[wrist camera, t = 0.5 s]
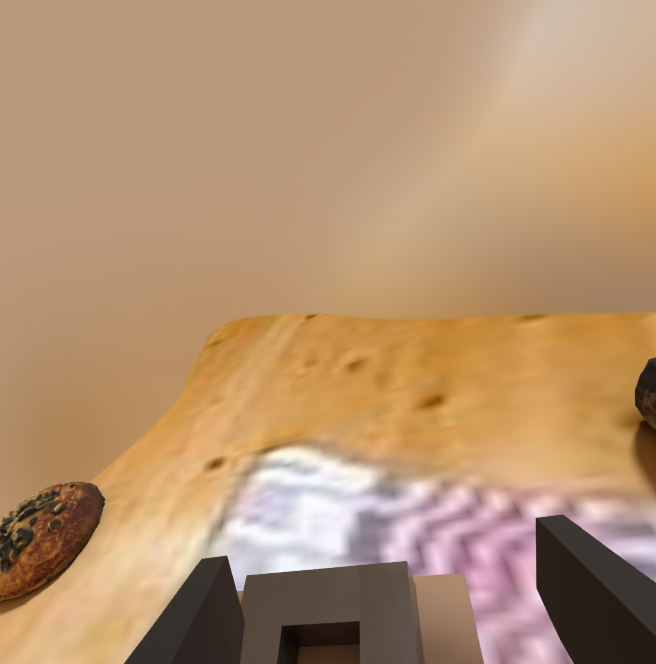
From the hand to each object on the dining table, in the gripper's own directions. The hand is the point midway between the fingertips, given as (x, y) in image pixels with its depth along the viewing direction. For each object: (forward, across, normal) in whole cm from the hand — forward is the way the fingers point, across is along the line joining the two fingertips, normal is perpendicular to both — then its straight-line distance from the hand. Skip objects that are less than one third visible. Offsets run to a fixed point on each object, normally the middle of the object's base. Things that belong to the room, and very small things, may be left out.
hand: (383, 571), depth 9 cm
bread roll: (+23, +31, +17) cm, 42 cm away
